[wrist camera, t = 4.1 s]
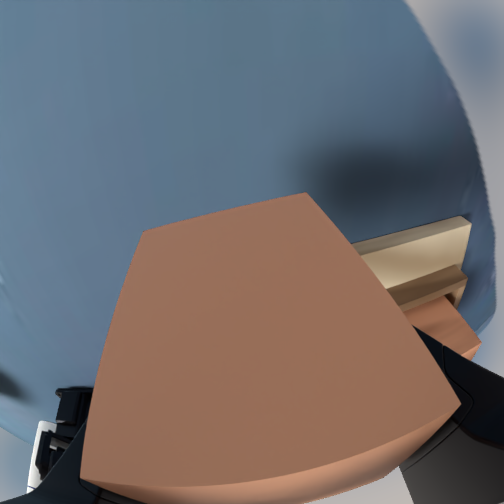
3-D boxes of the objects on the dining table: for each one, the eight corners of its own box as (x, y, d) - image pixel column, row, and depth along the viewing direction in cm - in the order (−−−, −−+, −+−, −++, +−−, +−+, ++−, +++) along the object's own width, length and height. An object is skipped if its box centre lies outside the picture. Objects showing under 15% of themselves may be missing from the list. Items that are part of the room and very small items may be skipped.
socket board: (426, 338, 28) (461, 392, 20) (223, 400, 27) (232, 473, 20) (460, 215, 19) (529, 272, 12) (163, 288, 18) (149, 399, 11)
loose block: (315, 311, 11) (383, 477, 5) (192, 339, 11) (200, 516, 5) (306, 192, 8) (460, 404, 2) (143, 231, 8) (80, 477, 2)
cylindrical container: (35, 416, 28) (19, 549, 7) (75, 431, 30) (67, 567, 9) (43, 430, 31) (31, 547, 10) (79, 443, 33) (73, 562, 12)
